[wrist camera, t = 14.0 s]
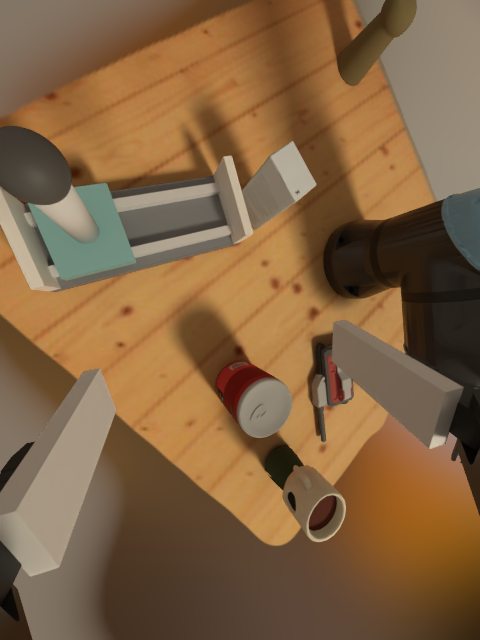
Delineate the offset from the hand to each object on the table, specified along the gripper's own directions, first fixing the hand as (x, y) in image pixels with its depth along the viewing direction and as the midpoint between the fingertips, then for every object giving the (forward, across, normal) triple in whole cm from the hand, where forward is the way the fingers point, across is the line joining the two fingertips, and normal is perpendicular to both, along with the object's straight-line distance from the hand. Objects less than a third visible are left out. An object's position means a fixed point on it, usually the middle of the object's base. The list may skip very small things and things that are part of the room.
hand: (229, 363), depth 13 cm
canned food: (+22, +3, -18) cm, 29 cm away
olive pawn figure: (+42, +35, +32) cm, 63 cm away
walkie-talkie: (+24, +22, -26) cm, 42 cm away
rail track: (+27, -7, +7) cm, 28 cm away
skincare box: (+31, +11, +9) cm, 34 cm away
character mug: (+18, +9, -35) cm, 41 cm away
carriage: (+22, -12, +8) cm, 26 cm away
